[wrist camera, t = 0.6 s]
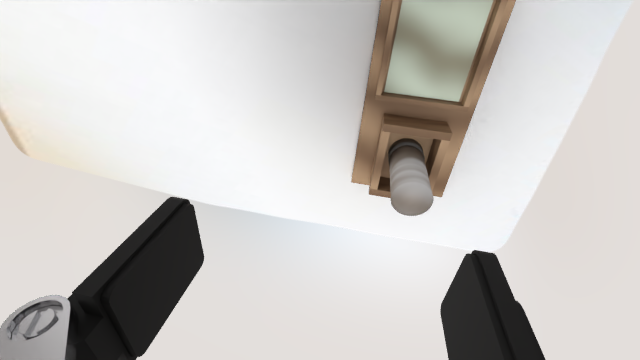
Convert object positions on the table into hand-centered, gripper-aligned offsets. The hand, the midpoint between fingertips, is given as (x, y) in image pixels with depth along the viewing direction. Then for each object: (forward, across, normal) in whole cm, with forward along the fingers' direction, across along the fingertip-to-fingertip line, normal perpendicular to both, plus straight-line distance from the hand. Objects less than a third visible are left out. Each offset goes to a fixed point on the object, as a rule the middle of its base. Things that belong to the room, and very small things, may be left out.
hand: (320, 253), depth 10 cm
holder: (+26, -6, +2) cm, 26 cm away
